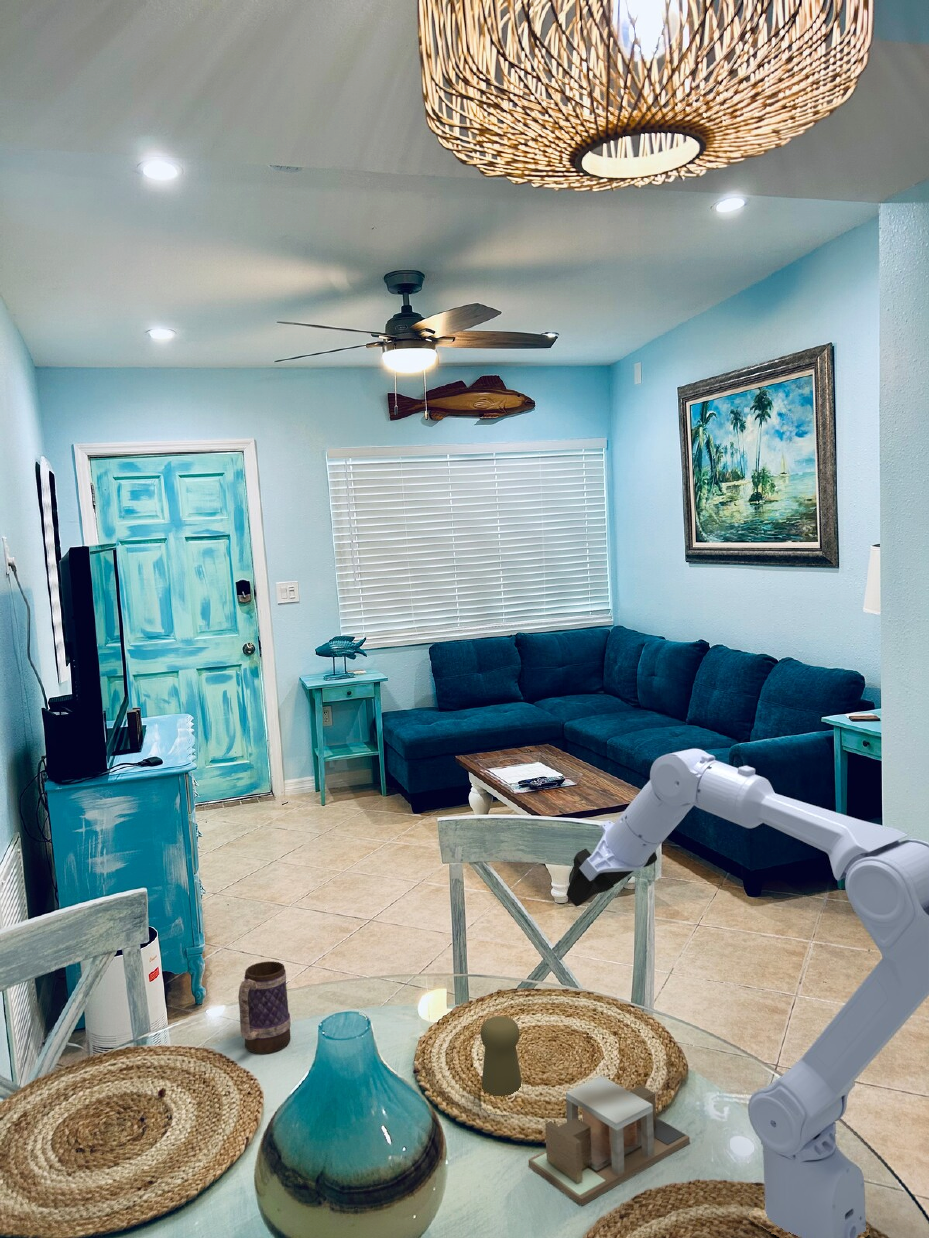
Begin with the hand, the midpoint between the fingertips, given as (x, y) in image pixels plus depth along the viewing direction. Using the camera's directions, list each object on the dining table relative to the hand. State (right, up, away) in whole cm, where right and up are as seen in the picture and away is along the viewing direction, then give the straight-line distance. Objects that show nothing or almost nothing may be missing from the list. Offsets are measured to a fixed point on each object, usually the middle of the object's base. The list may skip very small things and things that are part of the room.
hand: (590, 889), depth 115 cm
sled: (+1, -28, -9) cm, 29 cm away
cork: (-11, -30, +4) cm, 32 cm away
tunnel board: (+1, -29, -8) cm, 30 cm away
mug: (-47, -31, +21) cm, 60 cm away
